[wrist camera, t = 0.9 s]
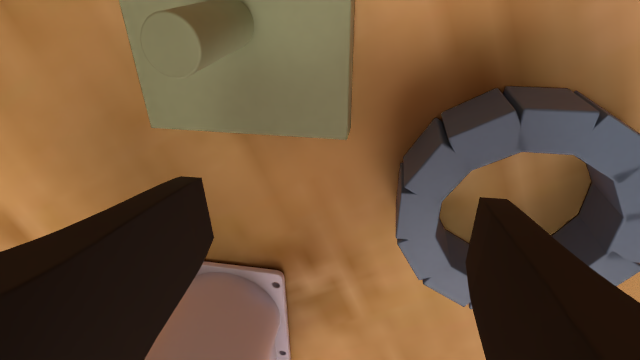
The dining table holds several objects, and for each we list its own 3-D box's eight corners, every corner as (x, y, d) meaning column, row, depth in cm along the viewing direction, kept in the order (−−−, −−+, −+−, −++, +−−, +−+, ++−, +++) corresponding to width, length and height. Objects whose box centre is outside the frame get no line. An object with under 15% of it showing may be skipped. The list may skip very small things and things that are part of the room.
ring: (586, 282, 21) (613, 327, 18) (389, 260, 22) (388, 299, 20) (677, 91, 15) (733, 117, 13) (409, 82, 17) (411, 103, 15)
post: (350, 127, 19) (331, 197, 13) (166, 117, 20) (79, 176, 15) (359, -128, 14) (332, -189, 8) (112, -116, 15) (-49, -160, 10)
